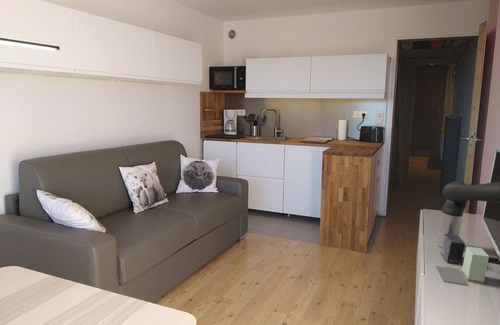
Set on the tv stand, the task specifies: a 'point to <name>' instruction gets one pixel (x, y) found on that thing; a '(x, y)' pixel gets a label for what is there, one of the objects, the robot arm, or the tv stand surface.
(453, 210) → the robot arm
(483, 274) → the sage block
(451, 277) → the mat
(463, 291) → the tv stand surface
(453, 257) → the small box
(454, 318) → the tv stand surface
